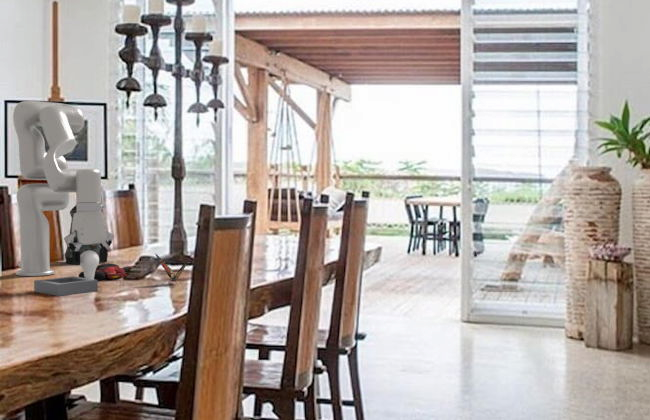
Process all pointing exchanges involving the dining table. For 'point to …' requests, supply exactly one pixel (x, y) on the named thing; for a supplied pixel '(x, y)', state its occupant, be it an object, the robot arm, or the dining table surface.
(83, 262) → the lightbulb
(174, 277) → the butterfly
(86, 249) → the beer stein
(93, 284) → the socket tray
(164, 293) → the dining table surface
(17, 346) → the dining table surface
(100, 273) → the toy motorcycle
